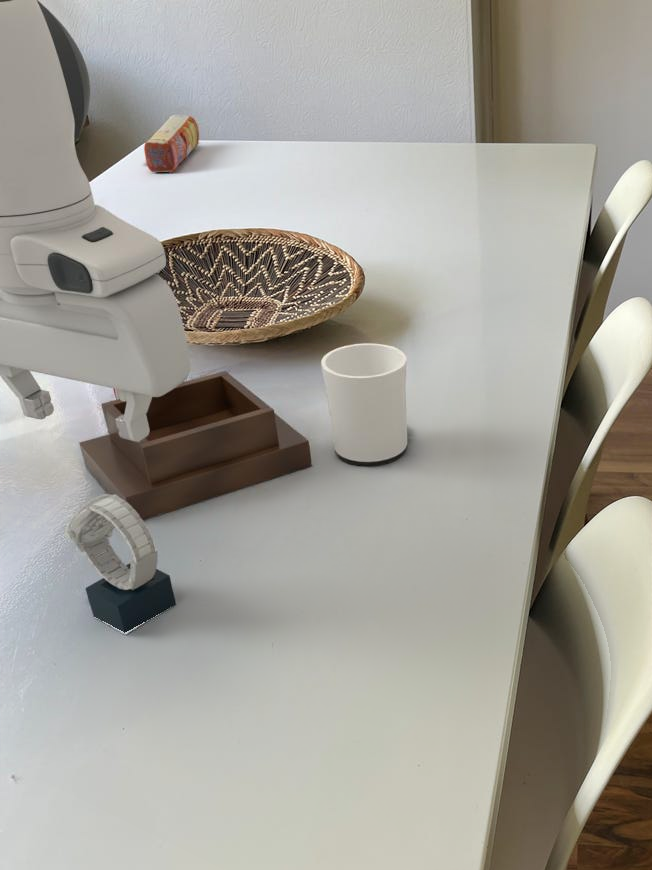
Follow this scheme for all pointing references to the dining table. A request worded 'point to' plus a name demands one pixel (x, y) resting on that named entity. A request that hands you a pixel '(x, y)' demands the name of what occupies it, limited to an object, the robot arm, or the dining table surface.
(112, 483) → the stepped wooden tray
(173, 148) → the snack package
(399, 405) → the mug
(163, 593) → the watch
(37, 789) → the dining table surface
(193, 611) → the dining table surface
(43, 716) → the dining table surface
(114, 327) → the robot arm
